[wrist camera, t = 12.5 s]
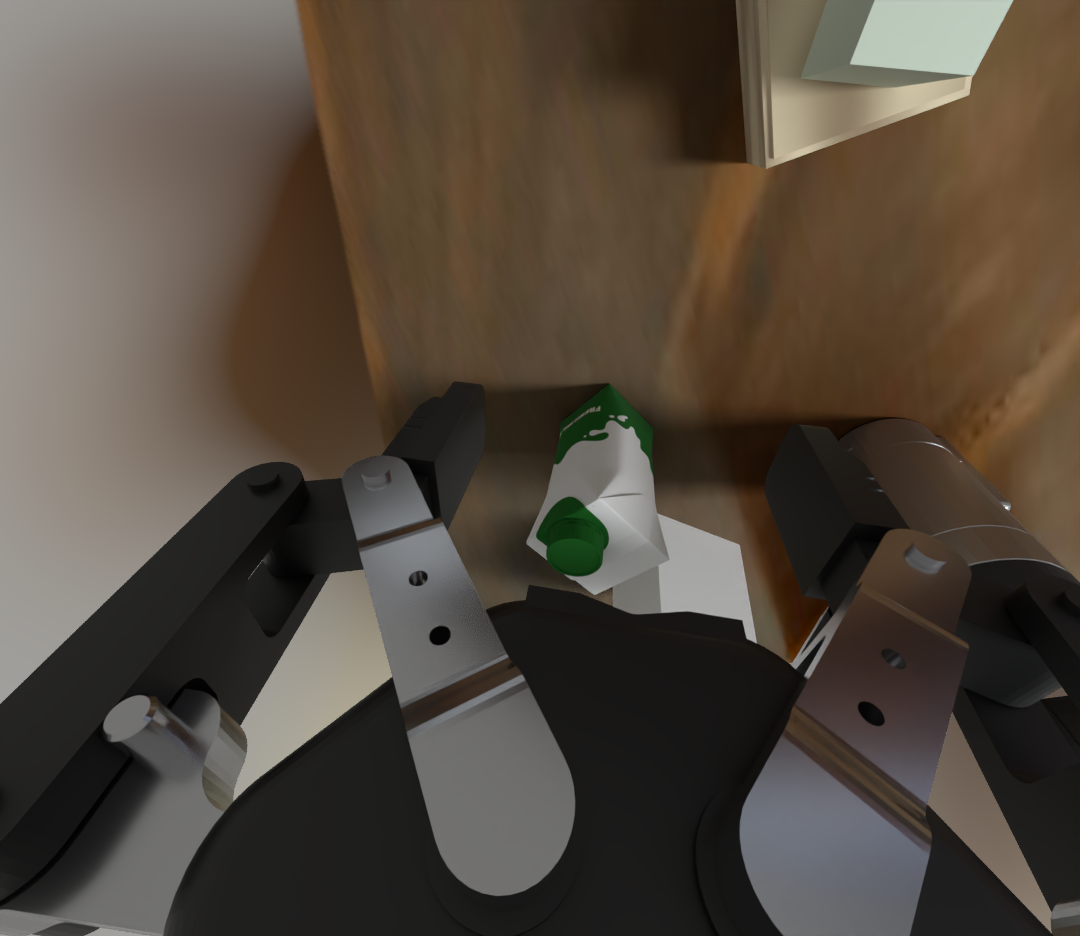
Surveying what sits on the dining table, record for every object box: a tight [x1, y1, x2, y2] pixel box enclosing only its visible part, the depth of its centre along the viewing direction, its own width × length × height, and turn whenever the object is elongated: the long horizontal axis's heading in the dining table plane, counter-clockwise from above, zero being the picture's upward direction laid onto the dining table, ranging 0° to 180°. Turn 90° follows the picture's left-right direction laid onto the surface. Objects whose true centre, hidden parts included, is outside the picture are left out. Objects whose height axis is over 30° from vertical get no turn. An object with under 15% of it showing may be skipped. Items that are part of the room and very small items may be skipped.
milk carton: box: [527, 384, 670, 595], centre depth 39 cm, size 9×9×20 cm
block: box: [800, 0, 1013, 88], centre depth 20 cm, size 5×5×7 cm
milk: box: [613, 514, 757, 643], centre depth 47 cm, size 12×12×26 cm
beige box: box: [736, 0, 972, 169], centre depth 25 cm, size 10×10×6 cm
